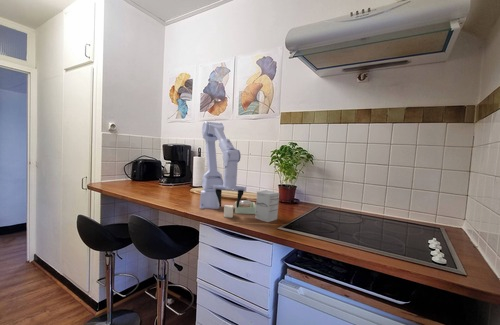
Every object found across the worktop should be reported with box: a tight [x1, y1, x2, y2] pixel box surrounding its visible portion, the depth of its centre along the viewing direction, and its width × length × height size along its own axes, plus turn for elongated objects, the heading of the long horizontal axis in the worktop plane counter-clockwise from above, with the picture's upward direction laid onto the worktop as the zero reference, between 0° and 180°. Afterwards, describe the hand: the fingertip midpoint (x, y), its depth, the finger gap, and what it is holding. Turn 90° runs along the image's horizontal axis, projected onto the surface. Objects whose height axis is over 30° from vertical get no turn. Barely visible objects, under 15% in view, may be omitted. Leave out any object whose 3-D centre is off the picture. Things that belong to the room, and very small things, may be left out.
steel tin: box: [239, 199, 252, 207], centre depth 118 cm, size 6×6×4 cm
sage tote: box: [234, 200, 256, 215], centre depth 117 cm, size 10×12×4 cm
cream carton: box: [223, 204, 234, 218], centre depth 105 cm, size 4×4×5 cm
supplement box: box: [254, 189, 280, 223], centre depth 104 cm, size 7×7×13 cm
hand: (228, 206), depth 105 cm, fingers open, 7 cm apart
